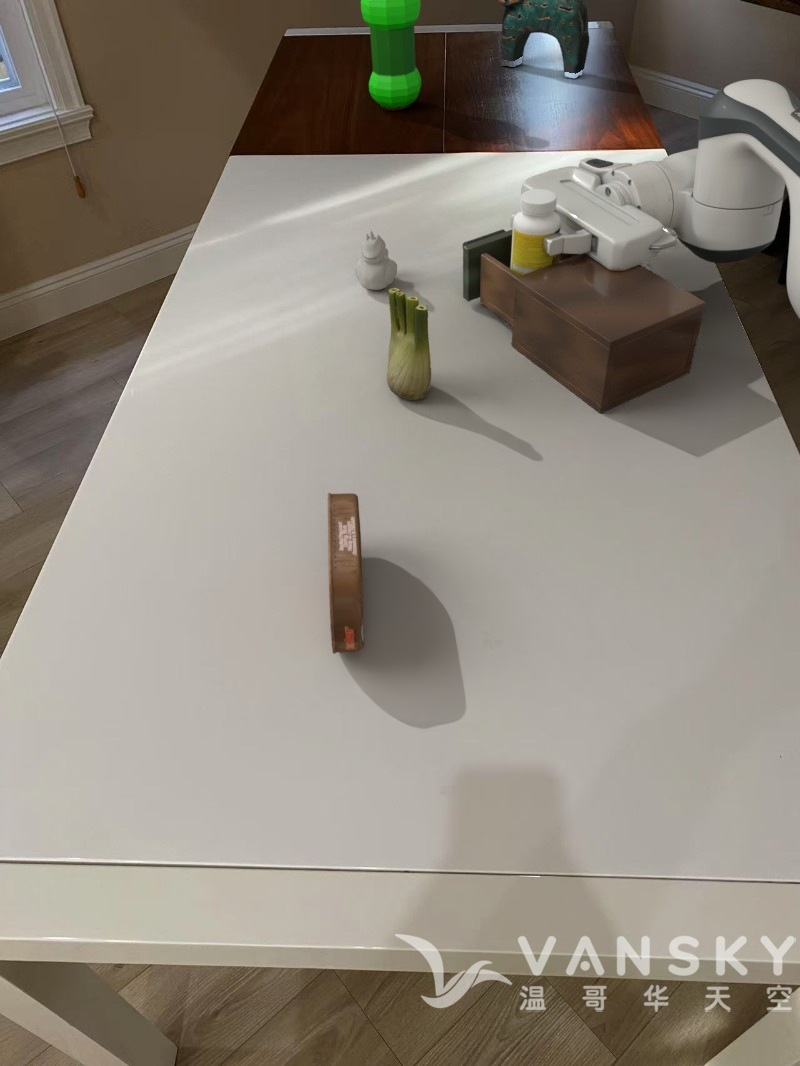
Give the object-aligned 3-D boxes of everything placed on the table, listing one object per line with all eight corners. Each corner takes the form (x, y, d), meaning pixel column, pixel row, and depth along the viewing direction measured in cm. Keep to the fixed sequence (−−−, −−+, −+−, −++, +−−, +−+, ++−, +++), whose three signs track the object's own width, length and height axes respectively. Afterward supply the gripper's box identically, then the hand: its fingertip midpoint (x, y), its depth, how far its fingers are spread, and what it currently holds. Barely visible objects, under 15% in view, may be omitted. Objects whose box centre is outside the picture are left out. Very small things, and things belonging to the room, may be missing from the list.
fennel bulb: (437, 403, 90) (434, 305, 82) (393, 411, 90) (386, 313, 81) (425, 374, 94) (422, 277, 86) (383, 381, 94) (375, 284, 85)
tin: (331, 540, 77) (320, 472, 71) (365, 537, 77) (356, 469, 71) (333, 675, 66) (320, 608, 60) (372, 672, 66) (363, 605, 60)
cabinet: (511, 346, 97) (514, 277, 91) (596, 312, 102) (604, 244, 95) (600, 413, 88) (610, 342, 81) (689, 373, 92) (706, 302, 85)
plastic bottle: (426, 96, 159) (421, -62, 141) (419, 116, 151) (413, -47, 134) (374, 96, 160) (364, -60, 142) (365, 116, 153) (352, -46, 135)
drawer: (444, 283, 106) (443, 232, 102) (517, 257, 110) (519, 207, 105) (533, 350, 95) (537, 296, 90) (611, 319, 99) (619, 265, 94)
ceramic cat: (490, 66, 169) (492, -51, 155) (508, 57, 172) (512, -59, 158) (574, 82, 159) (585, -41, 145) (591, 73, 163) (604, -49, 149)
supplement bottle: (558, 288, 97) (565, 205, 90) (511, 289, 97) (515, 207, 90) (553, 265, 100) (560, 184, 93) (508, 267, 101) (511, 187, 94)
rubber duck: (350, 294, 108) (344, 236, 102) (366, 270, 112) (360, 212, 106) (390, 298, 106) (386, 239, 101) (404, 274, 111) (401, 216, 105)
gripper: (681, 267, 94) (579, 299, 90) (577, 202, 107) (484, 228, 103) (692, 212, 89) (585, 244, 85) (582, 152, 103) (485, 177, 99)
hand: (529, 235), depth 94 cm, fingers closed on supplement bottle, 5 cm apart
